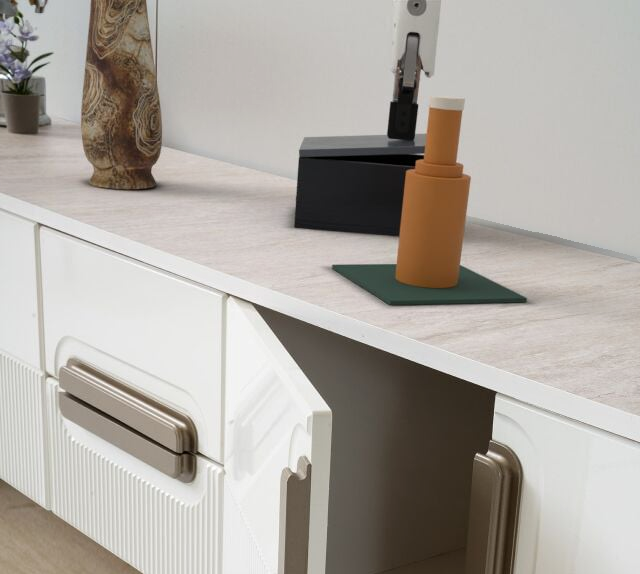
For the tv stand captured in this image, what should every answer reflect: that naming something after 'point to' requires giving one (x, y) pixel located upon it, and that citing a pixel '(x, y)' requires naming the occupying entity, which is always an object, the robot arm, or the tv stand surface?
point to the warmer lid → (360, 146)
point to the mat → (397, 293)
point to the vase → (120, 96)
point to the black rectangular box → (352, 192)
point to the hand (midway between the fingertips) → (400, 138)
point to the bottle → (435, 203)
